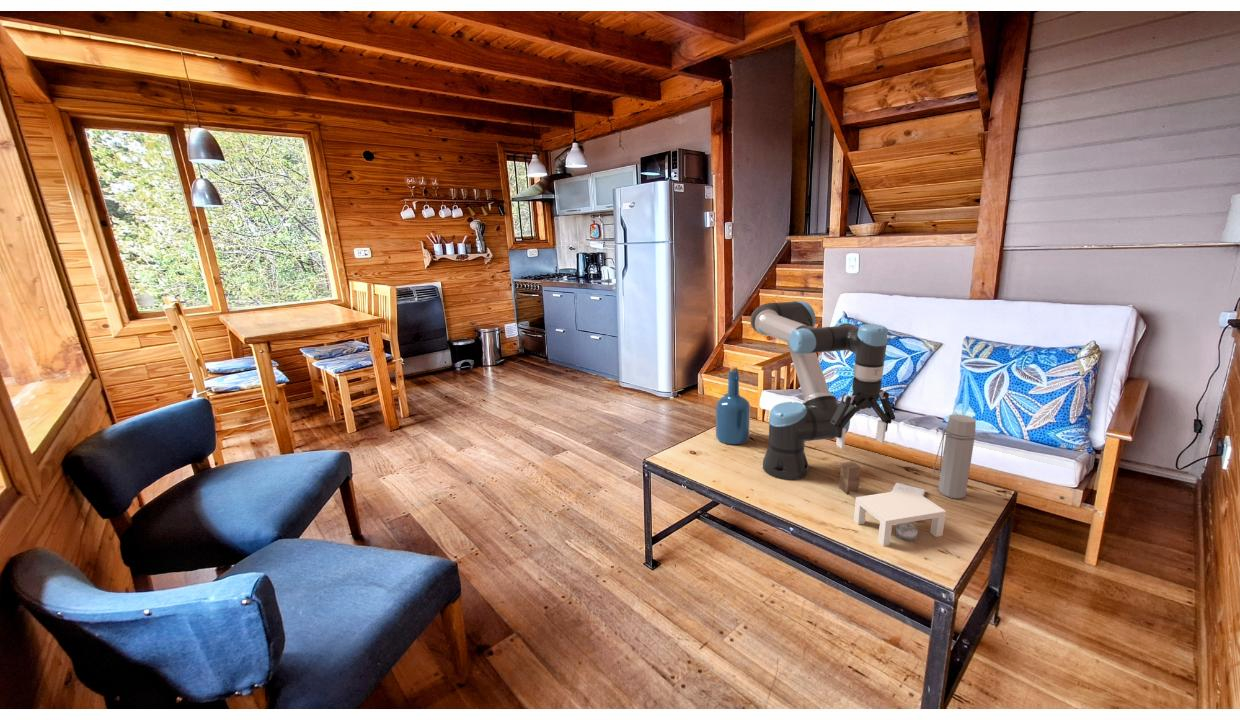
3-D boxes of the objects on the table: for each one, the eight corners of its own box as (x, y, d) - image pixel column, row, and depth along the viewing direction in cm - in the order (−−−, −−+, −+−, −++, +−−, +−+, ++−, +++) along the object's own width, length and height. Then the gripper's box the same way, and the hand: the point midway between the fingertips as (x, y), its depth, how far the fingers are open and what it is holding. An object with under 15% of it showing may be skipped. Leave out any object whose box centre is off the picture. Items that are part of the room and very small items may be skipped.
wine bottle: (751, 446, 189) (754, 372, 182) (717, 445, 191) (718, 372, 183) (746, 431, 202) (748, 362, 195) (714, 431, 204) (714, 362, 196)
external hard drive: (886, 503, 148) (895, 486, 157) (917, 512, 143) (924, 494, 152) (887, 498, 147) (895, 481, 157) (918, 507, 142) (925, 489, 152)
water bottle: (968, 493, 151) (980, 417, 144) (962, 503, 145) (974, 425, 139) (934, 483, 157) (944, 410, 151) (927, 492, 152) (937, 417, 146)
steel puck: (891, 532, 134) (892, 524, 133) (907, 529, 135) (908, 521, 134) (904, 542, 129) (905, 534, 128) (921, 540, 130) (922, 531, 129)
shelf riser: (853, 520, 139) (855, 497, 137) (908, 511, 142) (911, 488, 140) (883, 546, 128) (885, 521, 126) (942, 535, 131) (946, 511, 129)
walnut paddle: (839, 488, 157) (841, 462, 154) (850, 486, 157) (852, 461, 155) (882, 523, 138) (885, 494, 135) (895, 521, 138) (898, 492, 136)
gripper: (837, 386, 136) (830, 454, 142) (914, 377, 140) (905, 444, 147) (821, 378, 143) (815, 443, 149) (895, 370, 147) (887, 433, 154)
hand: (859, 444), depth 148 cm, fingers open, 13 cm apart
